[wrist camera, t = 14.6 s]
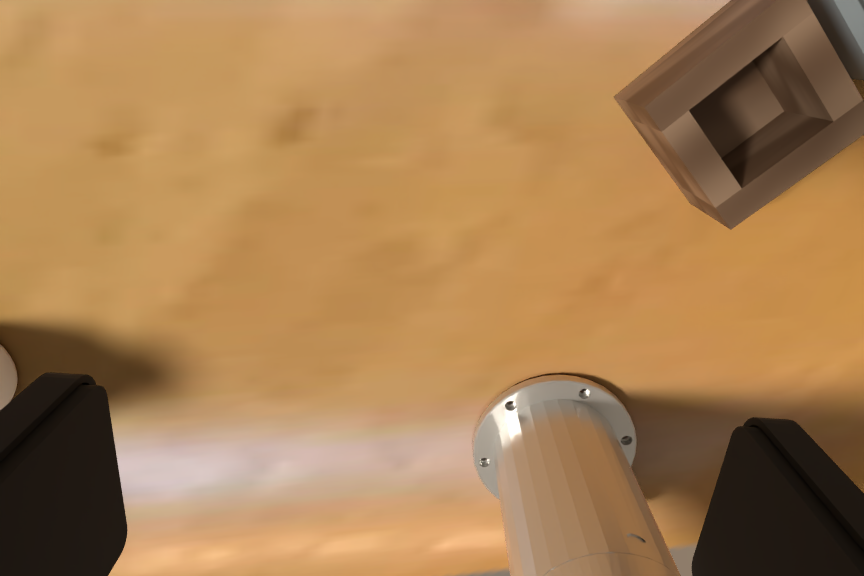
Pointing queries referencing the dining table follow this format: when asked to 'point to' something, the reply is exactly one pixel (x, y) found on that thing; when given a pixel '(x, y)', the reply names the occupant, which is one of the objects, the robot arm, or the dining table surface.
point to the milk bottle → (7, 377)
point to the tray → (843, 31)
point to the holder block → (746, 106)
